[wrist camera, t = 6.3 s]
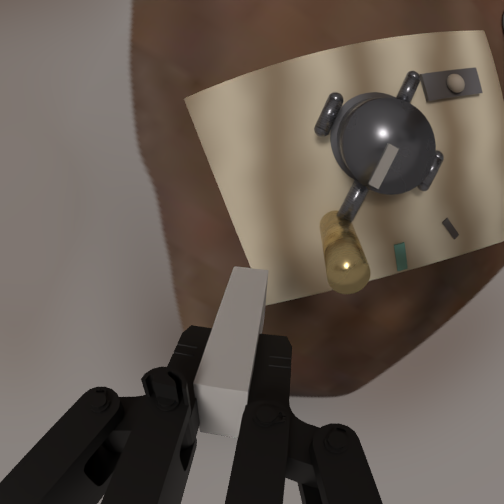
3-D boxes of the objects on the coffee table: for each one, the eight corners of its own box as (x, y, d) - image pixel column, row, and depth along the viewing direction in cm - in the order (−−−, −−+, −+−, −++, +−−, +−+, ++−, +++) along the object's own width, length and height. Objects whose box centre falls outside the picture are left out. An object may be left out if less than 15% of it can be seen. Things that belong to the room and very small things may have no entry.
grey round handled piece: (352, 40, 17) (377, 15, 10) (460, 106, 17) (516, 115, 11) (272, 215, 23) (263, 261, 17) (377, 262, 23) (400, 317, 17)
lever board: (472, 33, 16) (494, 27, 13) (504, 228, 23) (523, 245, 20) (192, 98, 22) (176, 98, 19) (268, 292, 29) (264, 316, 26)
